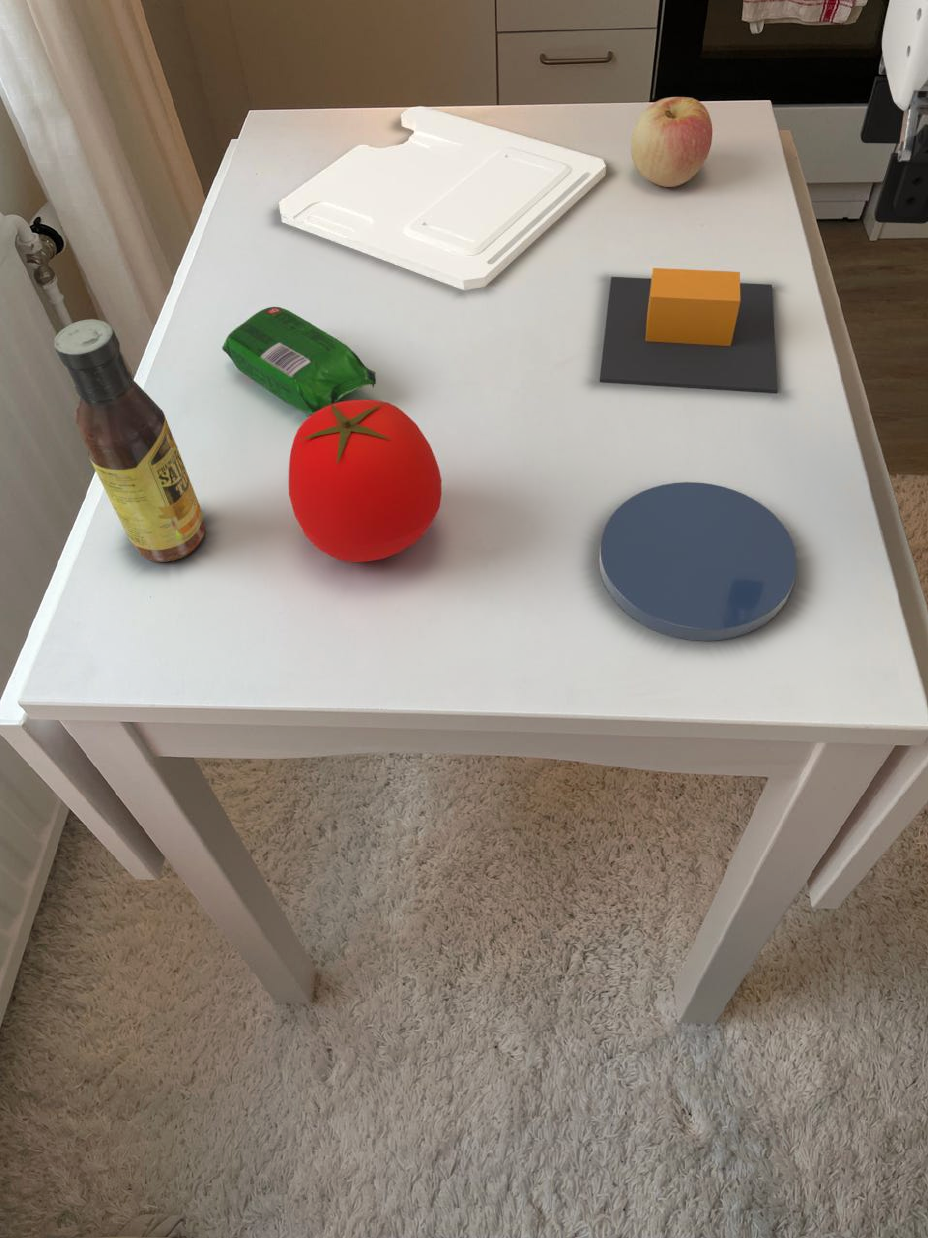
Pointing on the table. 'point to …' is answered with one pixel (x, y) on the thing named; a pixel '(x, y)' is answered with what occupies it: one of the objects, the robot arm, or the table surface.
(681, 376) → the mat
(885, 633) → the table surface
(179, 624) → the table surface
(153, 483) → the sauce bottle
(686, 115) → the apple
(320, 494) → the tomato
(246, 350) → the snack package
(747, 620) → the plate
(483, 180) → the tray
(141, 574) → the table surface
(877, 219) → the robot arm
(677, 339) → the block
